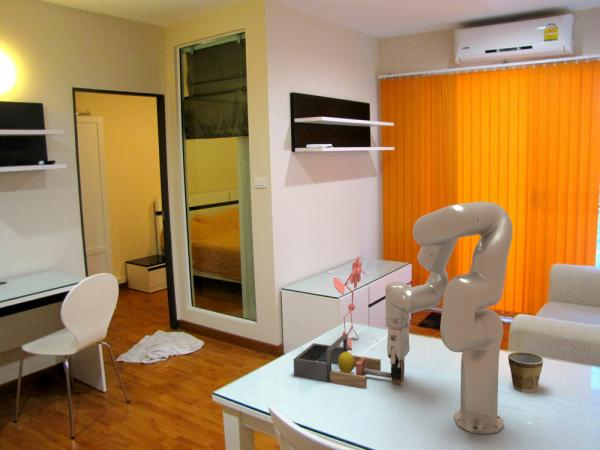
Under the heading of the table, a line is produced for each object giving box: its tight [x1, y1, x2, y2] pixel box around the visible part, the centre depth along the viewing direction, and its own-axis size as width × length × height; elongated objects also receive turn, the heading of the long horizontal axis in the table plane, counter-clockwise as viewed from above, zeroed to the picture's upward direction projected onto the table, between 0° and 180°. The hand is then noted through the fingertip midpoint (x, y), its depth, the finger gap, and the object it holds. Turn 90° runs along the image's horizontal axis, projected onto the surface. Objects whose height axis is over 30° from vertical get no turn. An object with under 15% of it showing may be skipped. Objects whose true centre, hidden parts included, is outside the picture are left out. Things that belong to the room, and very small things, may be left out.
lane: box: [329, 354, 382, 389], centre depth 175 cm, size 16×12×4 cm
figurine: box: [333, 255, 379, 351], centre depth 202 cm, size 15×26×35 cm, turn 157°
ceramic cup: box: [507, 351, 544, 394], centre depth 163 cm, size 13×10×10 cm
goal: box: [293, 333, 349, 383], centre depth 180 cm, size 16×13×11 cm
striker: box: [355, 356, 405, 385], centre depth 171 cm, size 6×15×9 cm, turn 65°
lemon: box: [337, 351, 355, 374], centre depth 176 cm, size 6×6×8 cm
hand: (397, 375), depth 169 cm, fingers closed on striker, 3 cm apart
